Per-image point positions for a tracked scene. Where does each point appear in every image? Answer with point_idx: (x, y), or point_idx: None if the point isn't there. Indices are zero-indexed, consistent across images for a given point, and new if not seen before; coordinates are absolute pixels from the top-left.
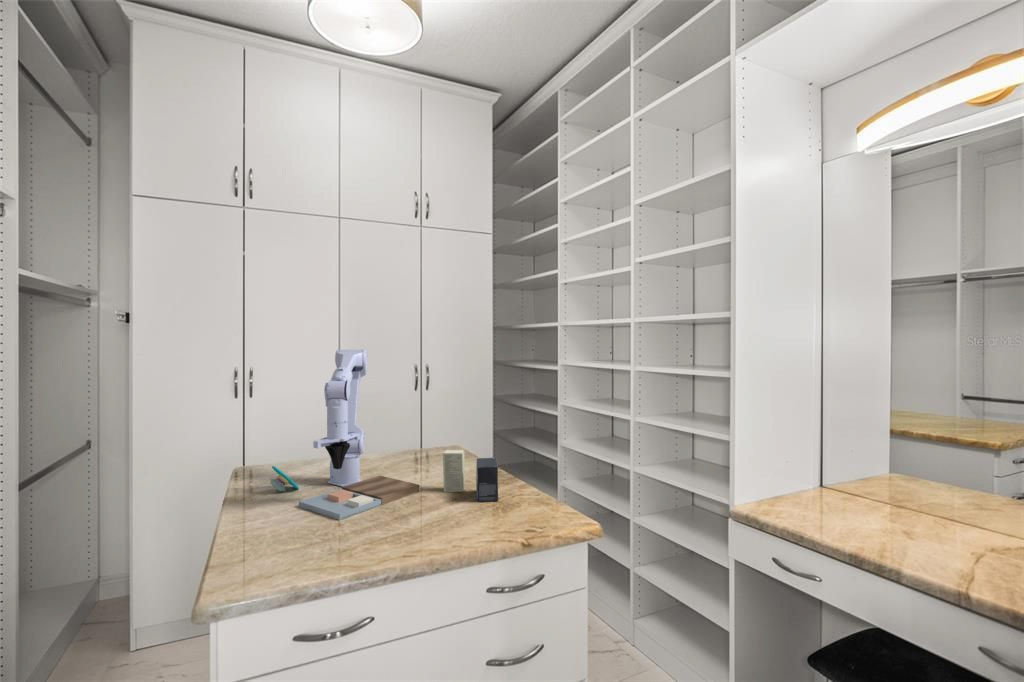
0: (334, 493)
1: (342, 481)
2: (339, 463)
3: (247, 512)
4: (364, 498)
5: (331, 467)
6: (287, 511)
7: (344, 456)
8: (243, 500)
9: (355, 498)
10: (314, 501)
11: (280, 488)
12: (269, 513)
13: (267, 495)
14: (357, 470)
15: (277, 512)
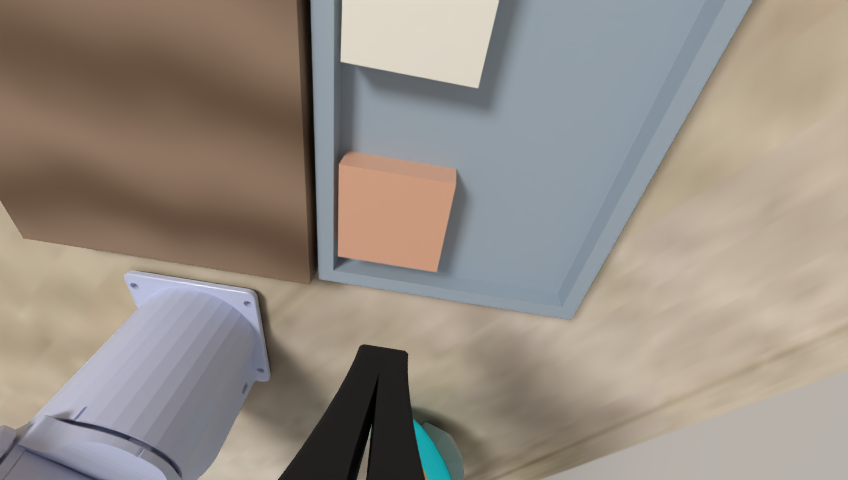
0: (411, 248)
1: (240, 332)
2: (389, 398)
3: (670, 396)
4: None
5: (223, 434)
6: (636, 300)
7: (300, 462)
8: (553, 454)
9: (428, 48)
10: (494, 282)
11: (451, 440)
12: (672, 339)
13: (485, 436)
14: (129, 337)
15: (655, 323)
